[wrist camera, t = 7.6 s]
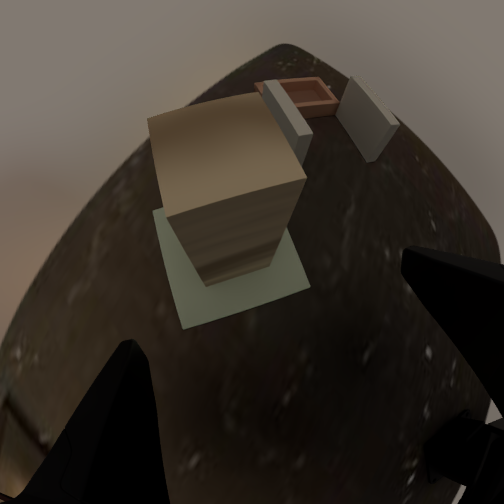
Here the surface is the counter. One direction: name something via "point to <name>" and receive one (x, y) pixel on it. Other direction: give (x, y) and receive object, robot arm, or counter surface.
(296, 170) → the beech post
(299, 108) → the tray
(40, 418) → the counter surface
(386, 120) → the channel
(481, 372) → the robot arm
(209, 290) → the green mat
